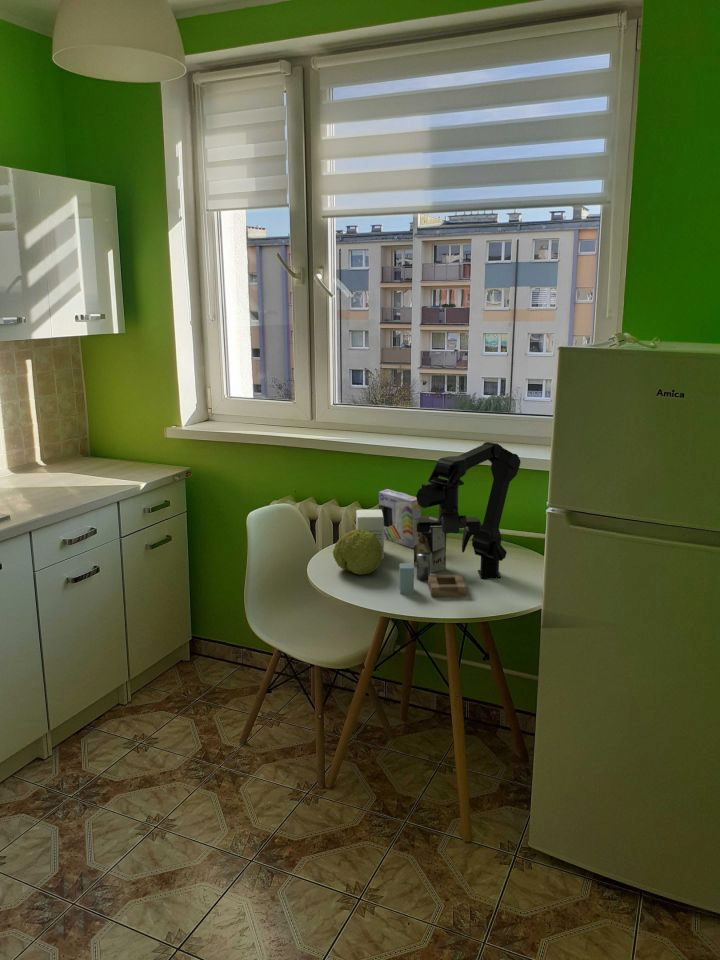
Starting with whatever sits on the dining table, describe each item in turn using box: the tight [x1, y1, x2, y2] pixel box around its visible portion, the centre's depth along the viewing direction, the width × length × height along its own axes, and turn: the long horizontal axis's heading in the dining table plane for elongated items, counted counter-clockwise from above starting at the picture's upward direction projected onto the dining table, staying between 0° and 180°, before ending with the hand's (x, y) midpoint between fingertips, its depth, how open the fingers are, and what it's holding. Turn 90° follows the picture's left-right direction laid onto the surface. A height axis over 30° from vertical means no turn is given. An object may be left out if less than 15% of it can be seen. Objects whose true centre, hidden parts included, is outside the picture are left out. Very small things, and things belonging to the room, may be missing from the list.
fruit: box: [332, 528, 383, 576], centre depth 245 cm, size 16×14×15 cm
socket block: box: [427, 574, 467, 598], centre depth 231 cm, size 10×10×3 cm
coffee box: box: [413, 514, 447, 573], centre depth 248 cm, size 9×6×16 cm
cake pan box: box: [377, 488, 422, 549], centre depth 273 cm, size 19×5×18 cm, turn 38°
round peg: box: [416, 552, 431, 582], centre depth 240 cm, size 4×4×8 cm
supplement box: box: [355, 509, 385, 560], centre depth 260 cm, size 9×9×15 cm
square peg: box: [398, 562, 415, 595], centre depth 230 cm, size 4×4×8 cm
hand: (447, 552), depth 228 cm, fingers open, 9 cm apart
